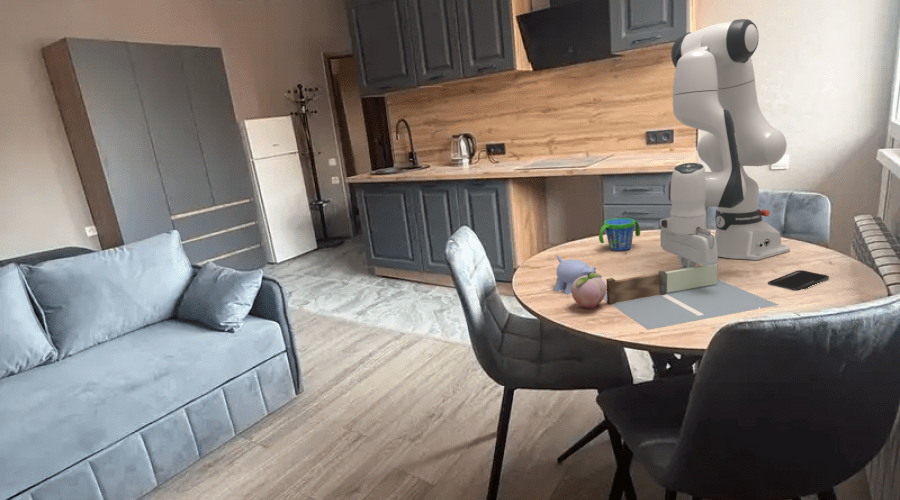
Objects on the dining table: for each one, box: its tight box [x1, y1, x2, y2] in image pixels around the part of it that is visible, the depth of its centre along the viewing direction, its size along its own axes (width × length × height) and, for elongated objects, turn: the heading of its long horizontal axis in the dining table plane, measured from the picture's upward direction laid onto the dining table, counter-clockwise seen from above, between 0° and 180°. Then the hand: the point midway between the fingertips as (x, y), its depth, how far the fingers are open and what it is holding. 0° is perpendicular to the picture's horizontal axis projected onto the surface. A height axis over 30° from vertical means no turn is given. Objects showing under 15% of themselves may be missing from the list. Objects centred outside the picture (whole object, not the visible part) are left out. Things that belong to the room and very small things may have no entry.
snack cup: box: [598, 217, 641, 252], centre depth 177 cm, size 16×10×10 cm
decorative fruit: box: [571, 272, 607, 309], centre depth 129 cm, size 9×8×10 cm
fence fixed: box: [605, 270, 666, 305], centre depth 131 cm, size 16×2×7 cm, turn 100°
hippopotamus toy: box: [553, 255, 602, 296], centre depth 143 cm, size 11×15×10 cm
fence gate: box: [665, 263, 719, 293], centre depth 133 cm, size 15×1×6 cm, turn 100°
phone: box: [767, 270, 830, 292], centre depth 131 cm, size 8×1×15 cm
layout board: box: [603, 278, 779, 331], centre depth 128 cm, size 34×26×1 cm
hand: (687, 272), depth 138 cm, fingers closed
